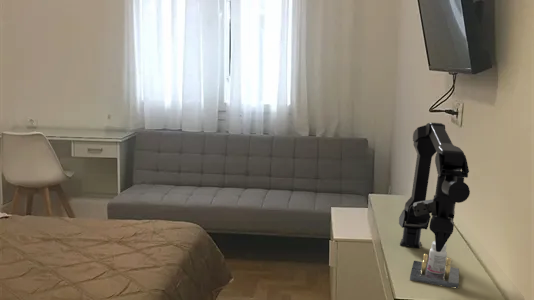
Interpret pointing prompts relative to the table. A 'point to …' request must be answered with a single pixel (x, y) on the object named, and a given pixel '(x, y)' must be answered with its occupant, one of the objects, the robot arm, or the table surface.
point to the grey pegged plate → (423, 275)
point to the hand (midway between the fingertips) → (438, 246)
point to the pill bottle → (437, 260)
